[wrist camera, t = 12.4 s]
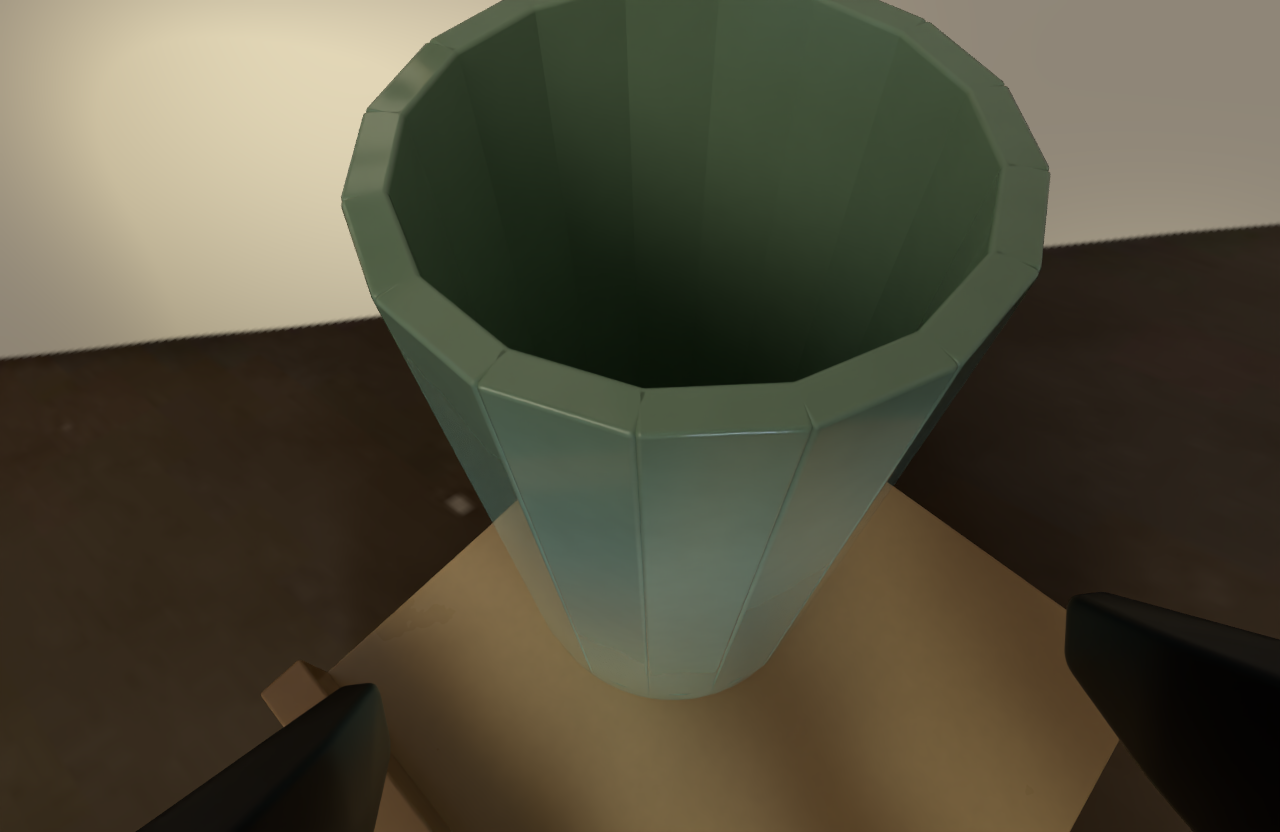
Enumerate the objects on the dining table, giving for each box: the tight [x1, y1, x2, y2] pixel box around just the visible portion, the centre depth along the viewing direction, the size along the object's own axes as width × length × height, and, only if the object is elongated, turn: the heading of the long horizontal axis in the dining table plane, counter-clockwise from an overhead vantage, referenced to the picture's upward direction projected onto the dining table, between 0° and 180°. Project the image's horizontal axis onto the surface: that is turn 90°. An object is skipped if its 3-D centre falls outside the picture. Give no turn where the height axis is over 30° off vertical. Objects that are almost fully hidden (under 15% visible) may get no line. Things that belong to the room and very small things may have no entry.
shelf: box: [261, 486, 1119, 832], centre depth 17 cm, size 14×14×6 cm
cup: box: [341, 0, 1050, 700], centre depth 12 cm, size 7×7×12 cm
